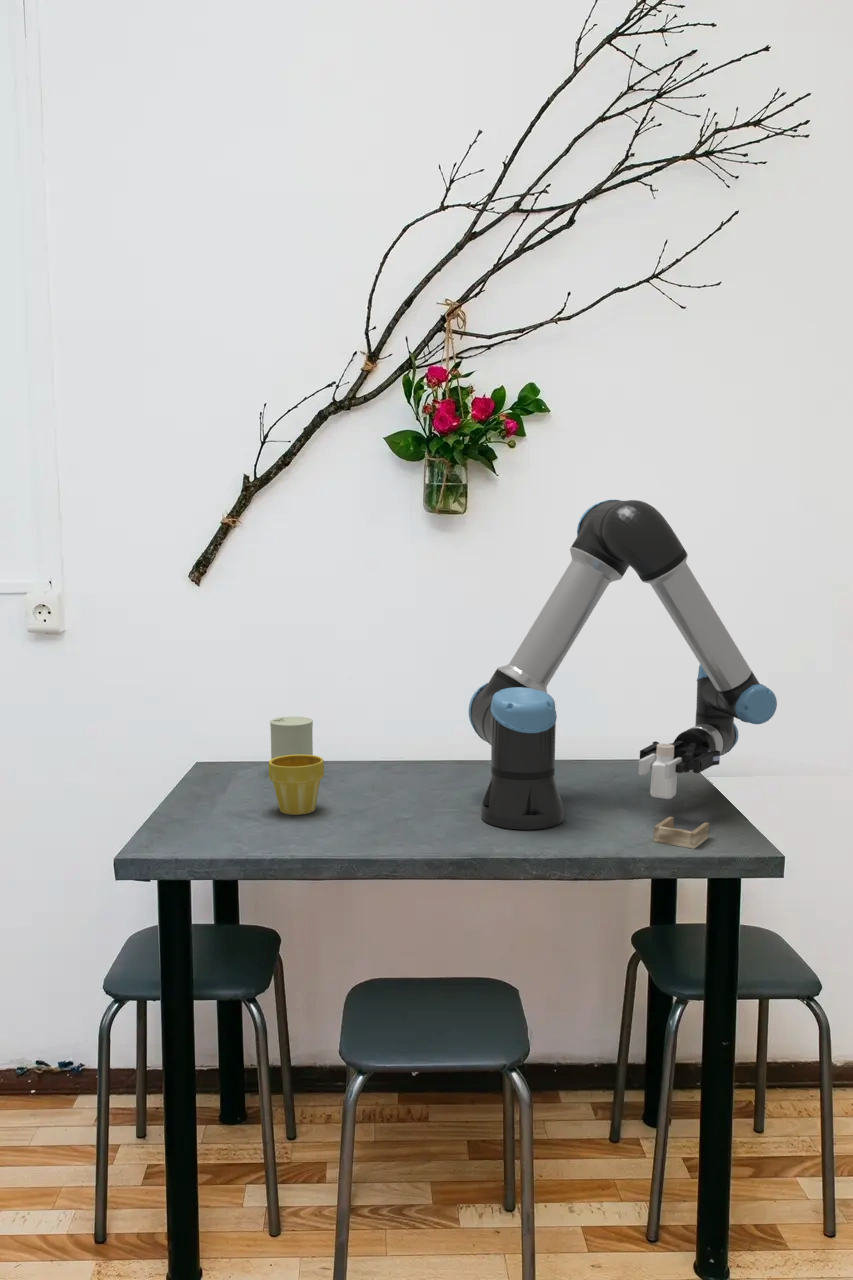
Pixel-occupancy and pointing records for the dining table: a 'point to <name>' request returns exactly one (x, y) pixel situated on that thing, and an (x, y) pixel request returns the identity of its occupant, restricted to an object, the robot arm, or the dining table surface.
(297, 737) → the can
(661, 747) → the pepper shaker
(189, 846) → the dining table surface
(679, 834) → the tray
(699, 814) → the dining table surface
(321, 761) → the plant pot
